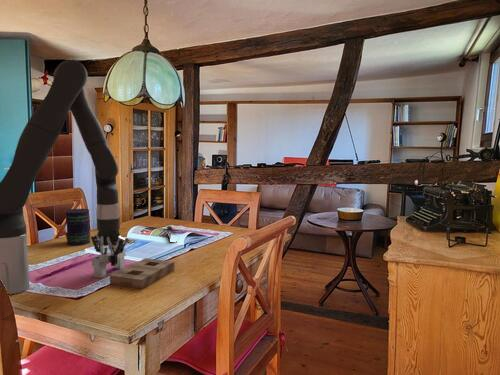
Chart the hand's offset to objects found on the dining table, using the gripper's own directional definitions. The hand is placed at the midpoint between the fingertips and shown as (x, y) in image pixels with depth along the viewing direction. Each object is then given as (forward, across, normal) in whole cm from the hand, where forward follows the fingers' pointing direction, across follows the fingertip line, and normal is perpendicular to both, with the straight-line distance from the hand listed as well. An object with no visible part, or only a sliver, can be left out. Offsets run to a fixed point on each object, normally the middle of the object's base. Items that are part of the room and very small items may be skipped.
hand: (109, 264), depth 137 cm
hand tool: (+3, -6, +51) cm, 51 cm away
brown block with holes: (+3, +14, 0) cm, 14 cm away
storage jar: (+3, -39, +28) cm, 48 cm away
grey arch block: (+3, 0, 0) cm, 3 cm away
